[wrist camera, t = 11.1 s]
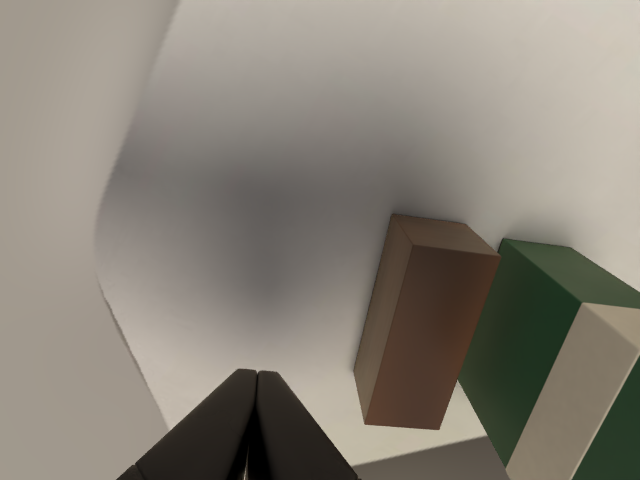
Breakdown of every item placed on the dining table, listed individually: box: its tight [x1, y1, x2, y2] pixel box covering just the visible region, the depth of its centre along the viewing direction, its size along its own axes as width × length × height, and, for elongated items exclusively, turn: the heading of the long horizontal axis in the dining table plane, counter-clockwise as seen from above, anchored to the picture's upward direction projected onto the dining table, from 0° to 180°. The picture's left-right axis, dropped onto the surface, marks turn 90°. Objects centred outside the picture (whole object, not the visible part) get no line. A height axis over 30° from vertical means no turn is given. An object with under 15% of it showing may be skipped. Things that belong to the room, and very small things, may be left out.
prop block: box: [354, 214, 501, 430], centre depth 21 cm, size 4×10×4 cm, turn 170°
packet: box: [458, 239, 640, 480], centre depth 18 cm, size 4×9×13 cm, turn 170°
